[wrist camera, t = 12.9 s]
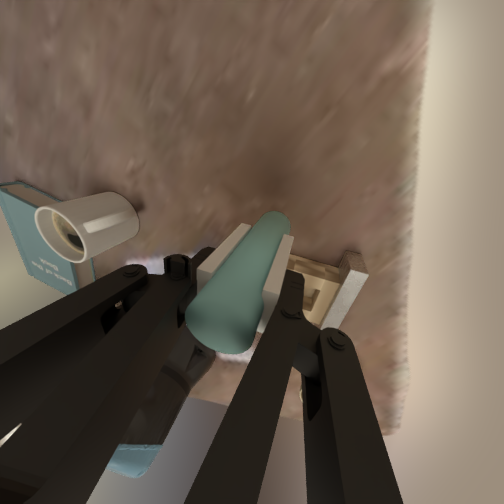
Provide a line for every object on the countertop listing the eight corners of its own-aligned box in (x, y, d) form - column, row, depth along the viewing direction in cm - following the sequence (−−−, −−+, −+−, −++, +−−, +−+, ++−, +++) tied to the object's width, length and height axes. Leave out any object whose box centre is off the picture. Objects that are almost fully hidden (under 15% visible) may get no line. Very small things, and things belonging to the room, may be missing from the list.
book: (98, 288, 52) (79, 301, 48) (48, 262, 53) (25, 272, 49) (87, 212, 40) (59, 220, 35) (22, 180, 41) (-12, 184, 37)
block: (273, 291, 34) (268, 307, 31) (284, 252, 30) (279, 266, 27) (319, 306, 33) (319, 324, 29) (337, 267, 29) (340, 284, 25)
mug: (101, 226, 39) (42, 248, 31) (96, 179, 34) (24, 191, 26) (148, 249, 39) (100, 278, 30) (150, 204, 33) (93, 225, 25)
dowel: (255, 236, 19) (184, 337, 9) (262, 207, 18) (185, 288, 7) (285, 245, 19) (246, 363, 8) (294, 216, 17) (260, 316, 7)
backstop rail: (314, 318, 34) (313, 342, 30) (346, 250, 27) (350, 269, 23) (325, 322, 34) (326, 347, 30) (361, 254, 27) (368, 274, 23)
